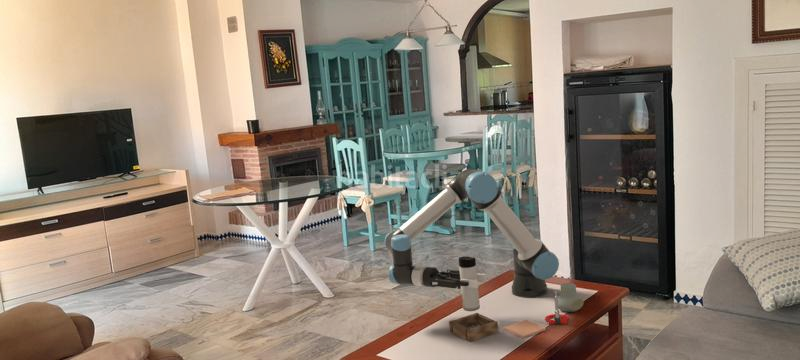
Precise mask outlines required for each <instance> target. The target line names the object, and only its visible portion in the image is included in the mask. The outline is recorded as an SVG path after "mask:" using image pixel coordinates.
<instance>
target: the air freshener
mask: <svg viewBox="0 0 800 360" xmlns="http://www.w3.org/2000/svg"><path fill="white" fill-rule="evenodd" d="M576 285H577V284H574V283H572V282H563V283H562V284H561V285H560V294H559V295H557V296H558V309H559V311H560V310H561V311H562V312H566V313H567V312H569V313H574V312H577V311H578V310H581V308H582V307H583V306H584V298H583V297H582V296H581V295H579V294H577V286H576Z"/></svg>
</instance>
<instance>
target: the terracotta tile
mask: <svg viewBox="0 0 800 360" xmlns="http://www.w3.org/2000/svg"><path fill="white" fill-rule="evenodd" d="M502 330H503V331H505V332H508V333H510V334H513V335H515V336H517V337H519V338H521V339H525V338H528V337H530V336H533V335H536V334H539V333H542V332H545V331H547V328H546V327H544V326H542V325H539V324H537V323H535V322H533V321H529V320H527V319H524V320H521V321H518V322H516V323H515V322H514V323H513V324H510V325H507V326H504V327H503V328H502Z"/></svg>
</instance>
